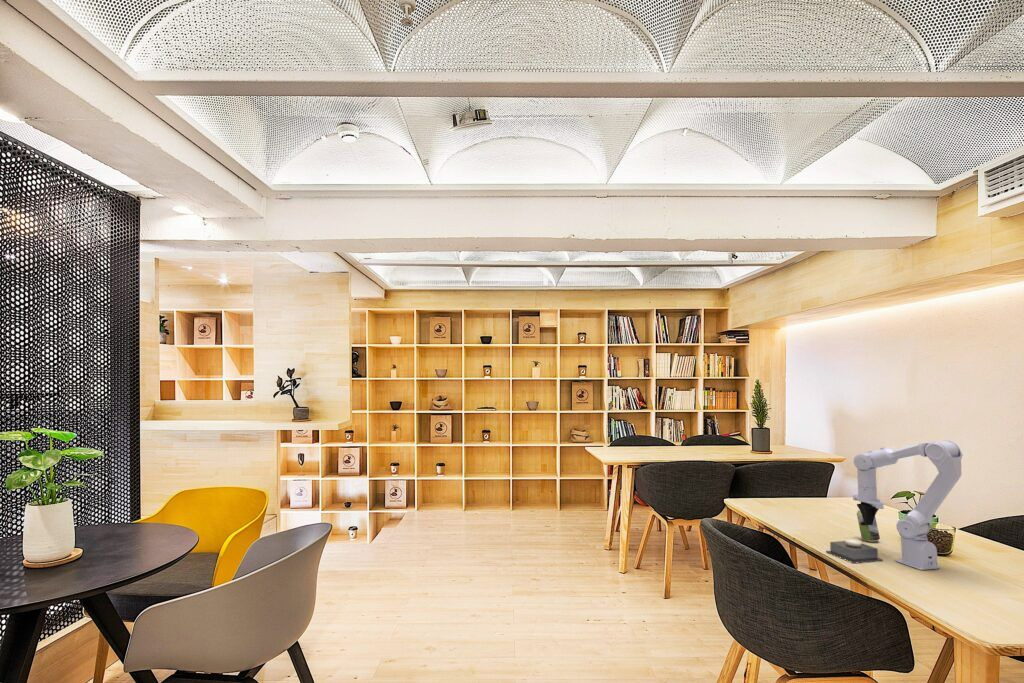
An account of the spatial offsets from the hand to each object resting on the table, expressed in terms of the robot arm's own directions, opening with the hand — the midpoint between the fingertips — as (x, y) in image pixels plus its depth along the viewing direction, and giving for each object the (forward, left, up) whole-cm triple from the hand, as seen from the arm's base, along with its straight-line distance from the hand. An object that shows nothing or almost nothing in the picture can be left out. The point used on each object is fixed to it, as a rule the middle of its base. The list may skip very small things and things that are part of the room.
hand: (868, 524), depth 198 cm
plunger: (-3, +10, -9) cm, 14 cm away
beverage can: (+12, -12, -10) cm, 20 cm away
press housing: (-3, +10, -10) cm, 14 cm away
